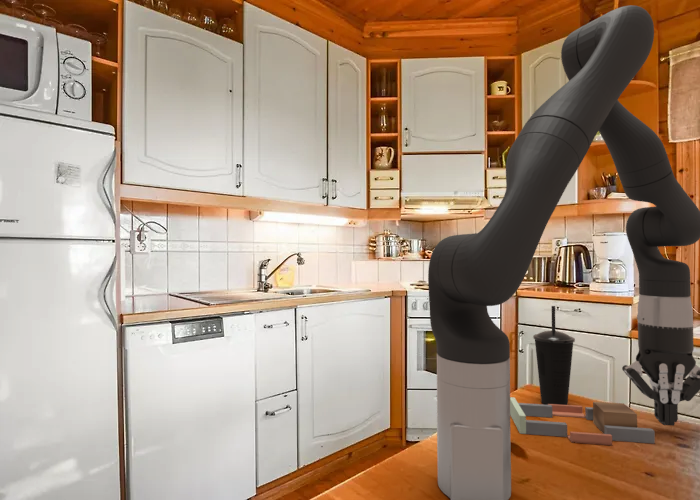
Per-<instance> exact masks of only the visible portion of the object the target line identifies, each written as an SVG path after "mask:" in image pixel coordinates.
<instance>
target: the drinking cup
mask: <svg viewBox="0 0 700 500" xmlns="http://www.w3.org/2000/svg"><path fill="white" fill-rule="evenodd" d="M532 338H533V340H534V343H535V353H536V364H537V374H538V375H537V376H538V381H539V382H538V383H539V391H540V392H539V394H540V401H541V404H544V405H548V404H559V405H569V403H568V402H569V395H570V394H569V393H570V392H569V391H570V380H571V373H572V372H571V370H572V361H573V348H574V343H575V341H576V339H575V337H573V336H572V335H571V336H570V335H569V334H567V333H565V332H562V331H559V330H556V306H555V305H551V330H543V331H541V332H538V333H537V334H534V335H533V337H532Z"/></svg>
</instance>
